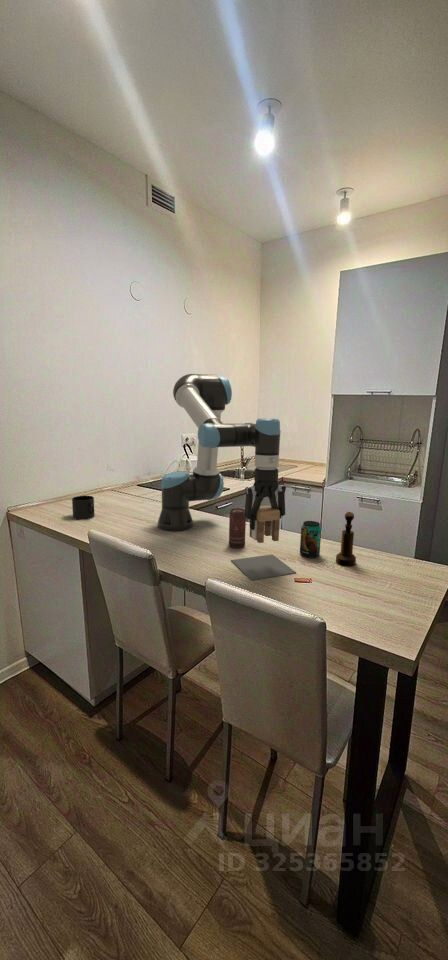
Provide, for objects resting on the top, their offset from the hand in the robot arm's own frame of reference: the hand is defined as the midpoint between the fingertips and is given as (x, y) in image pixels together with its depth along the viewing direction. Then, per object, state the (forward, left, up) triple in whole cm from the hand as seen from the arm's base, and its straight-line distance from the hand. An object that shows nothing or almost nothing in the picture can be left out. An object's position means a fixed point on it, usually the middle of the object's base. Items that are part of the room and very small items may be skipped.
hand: (264, 537), depth 129 cm
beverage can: (-4, +21, -11) cm, 24 cm away
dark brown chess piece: (+6, +29, -11) cm, 31 cm away
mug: (-77, -52, -11) cm, 94 cm away
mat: (0, 0, -10) cm, 10 cm away
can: (-21, 0, -11) cm, 24 cm away
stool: (0, 0, 0) cm, 0 cm away
